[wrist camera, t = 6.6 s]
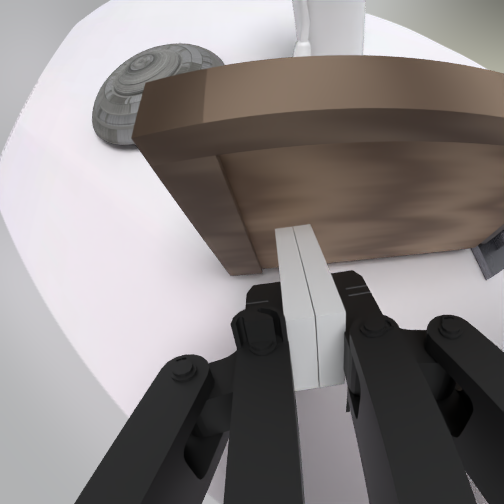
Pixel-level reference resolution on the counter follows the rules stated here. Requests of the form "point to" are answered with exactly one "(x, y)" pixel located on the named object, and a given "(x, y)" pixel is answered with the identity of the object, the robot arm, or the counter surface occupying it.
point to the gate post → (491, 255)
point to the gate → (330, 154)
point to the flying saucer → (141, 86)
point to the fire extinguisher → (329, 27)
